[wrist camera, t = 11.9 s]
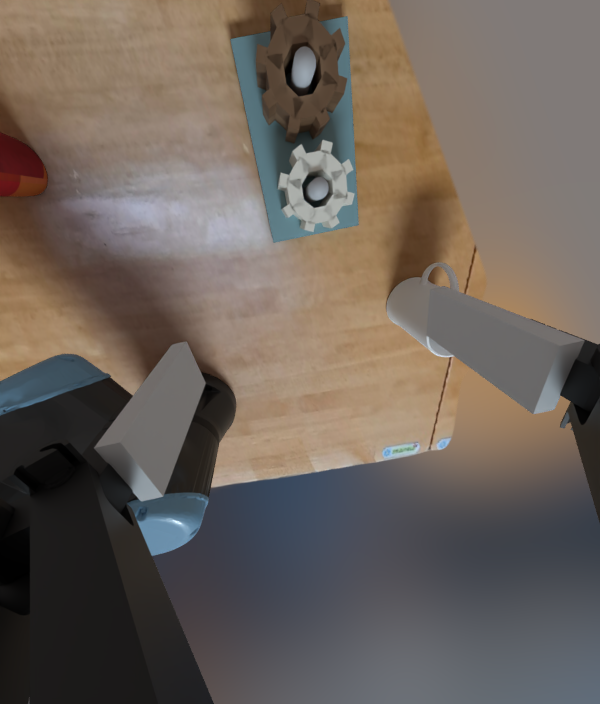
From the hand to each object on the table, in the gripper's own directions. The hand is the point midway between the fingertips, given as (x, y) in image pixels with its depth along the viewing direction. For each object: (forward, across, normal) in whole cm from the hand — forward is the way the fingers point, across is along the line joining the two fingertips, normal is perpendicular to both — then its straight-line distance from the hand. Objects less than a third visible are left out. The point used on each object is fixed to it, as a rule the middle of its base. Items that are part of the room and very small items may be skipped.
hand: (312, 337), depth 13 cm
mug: (+27, +20, -9) cm, 35 cm away
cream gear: (+25, +5, +8) cm, 27 cm away
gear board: (+27, +5, +12) cm, 30 cm away
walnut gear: (+25, +5, +17) cm, 31 cm away
